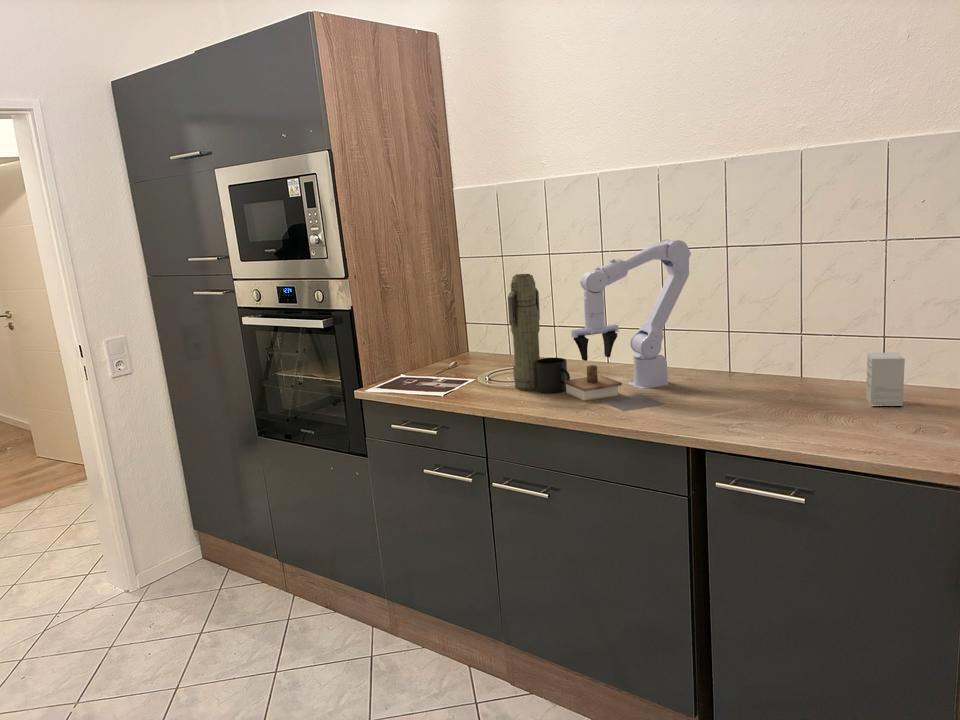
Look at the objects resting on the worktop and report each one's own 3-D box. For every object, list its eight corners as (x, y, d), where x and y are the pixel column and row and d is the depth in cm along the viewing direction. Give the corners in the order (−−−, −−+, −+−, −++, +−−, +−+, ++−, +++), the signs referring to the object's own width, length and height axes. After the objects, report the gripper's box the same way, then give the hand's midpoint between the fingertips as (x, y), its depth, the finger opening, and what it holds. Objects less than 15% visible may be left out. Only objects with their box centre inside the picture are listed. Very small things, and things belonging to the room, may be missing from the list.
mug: (559, 396, 216) (558, 366, 214) (530, 390, 225) (528, 361, 223) (580, 389, 222) (579, 360, 220) (551, 384, 231) (550, 356, 229)
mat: (640, 395, 211) (640, 393, 211) (666, 405, 199) (666, 403, 199) (599, 401, 207) (599, 400, 206) (624, 412, 195) (624, 411, 194)
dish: (599, 389, 221) (598, 377, 220) (618, 396, 211) (617, 384, 210) (566, 394, 217) (565, 382, 217) (583, 402, 207) (583, 390, 206)
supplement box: (897, 400, 189) (899, 352, 187) (903, 408, 182) (905, 358, 180) (865, 399, 192) (866, 352, 189) (869, 407, 185) (871, 358, 182)
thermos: (505, 389, 229) (498, 276, 222) (528, 381, 237) (522, 272, 230) (527, 392, 223) (521, 276, 216) (551, 383, 231) (545, 272, 224)
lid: (600, 377, 220) (599, 360, 219) (621, 385, 209) (621, 367, 208) (564, 383, 216) (563, 365, 215) (584, 391, 205) (583, 373, 204)
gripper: (578, 317, 208) (580, 364, 211) (623, 311, 213) (624, 357, 215) (567, 314, 215) (569, 360, 217) (610, 309, 219) (612, 353, 222)
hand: (596, 358), depth 217 cm, fingers open, 7 cm apart
